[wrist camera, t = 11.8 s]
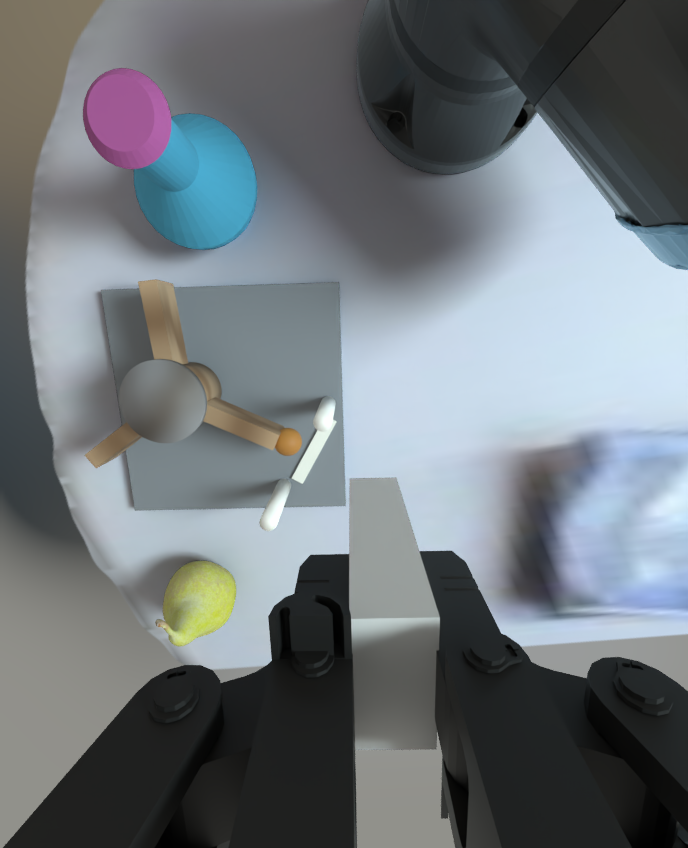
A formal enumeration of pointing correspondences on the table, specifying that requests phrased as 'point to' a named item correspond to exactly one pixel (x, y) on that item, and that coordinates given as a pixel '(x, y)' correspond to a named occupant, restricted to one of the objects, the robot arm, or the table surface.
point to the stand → (244, 397)
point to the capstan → (179, 392)
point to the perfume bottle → (172, 160)
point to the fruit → (197, 601)
